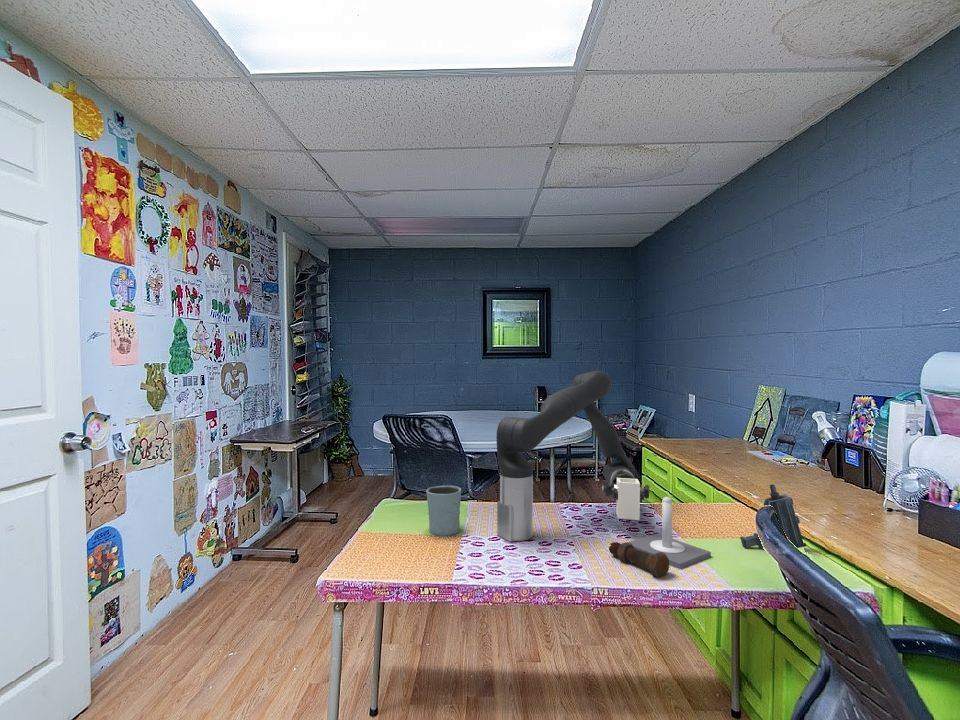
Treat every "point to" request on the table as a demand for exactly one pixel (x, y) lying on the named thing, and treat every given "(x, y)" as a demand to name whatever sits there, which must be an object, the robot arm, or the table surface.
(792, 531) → the gun
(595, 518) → the table surface
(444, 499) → the drinking glass
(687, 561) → the post stand
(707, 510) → the table surface
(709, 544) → the table surface
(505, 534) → the robot arm
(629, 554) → the bolt
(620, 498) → the collar
